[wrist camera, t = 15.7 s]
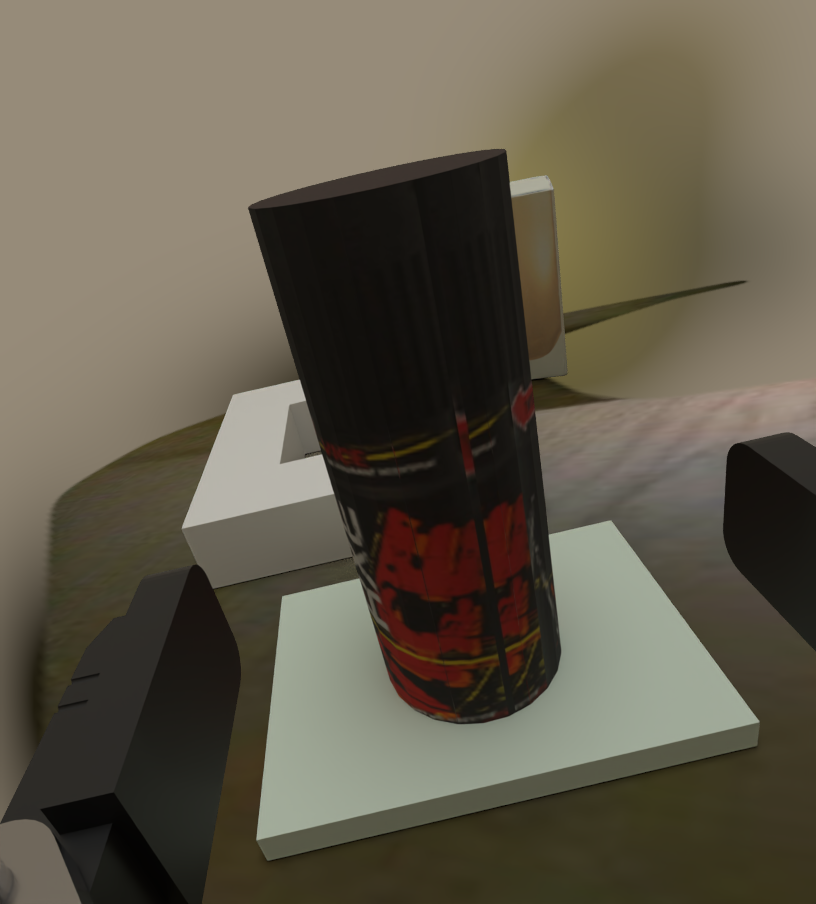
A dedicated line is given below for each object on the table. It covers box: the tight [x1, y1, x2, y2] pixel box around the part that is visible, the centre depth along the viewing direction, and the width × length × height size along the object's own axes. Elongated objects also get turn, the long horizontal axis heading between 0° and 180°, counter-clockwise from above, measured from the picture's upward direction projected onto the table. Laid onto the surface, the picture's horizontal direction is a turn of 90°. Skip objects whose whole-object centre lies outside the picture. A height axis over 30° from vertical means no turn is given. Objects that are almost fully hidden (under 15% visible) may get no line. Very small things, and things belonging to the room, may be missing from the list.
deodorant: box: [248, 149, 561, 724], centre depth 17 cm, size 6×6×15 cm
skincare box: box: [510, 176, 567, 379], centre depth 42 cm, size 6×4×12 cm
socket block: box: [182, 380, 353, 589], centre depth 35 cm, size 16×16×4 cm
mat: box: [256, 521, 760, 861], centre depth 21 cm, size 14×10×1 cm
